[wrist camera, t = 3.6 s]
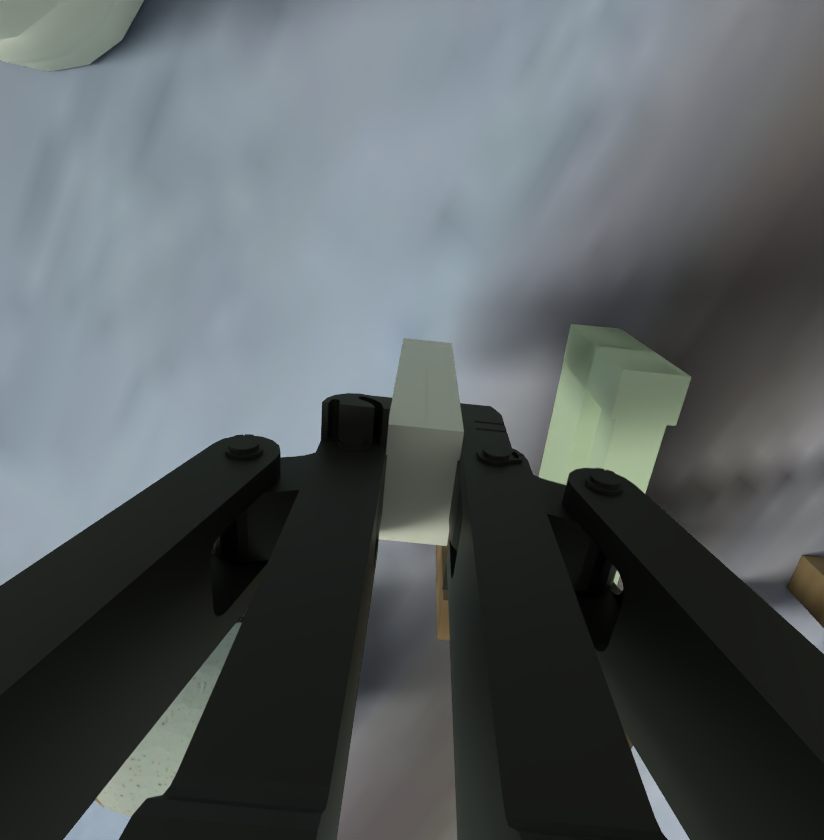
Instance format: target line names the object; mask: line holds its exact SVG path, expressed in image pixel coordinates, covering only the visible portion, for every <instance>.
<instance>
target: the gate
mask: <svg viewBox="0 0 824 840" xmlns="http://www.w3.org/2000/svg"><path fill="white" fill-rule="evenodd" d="M563 362H564V363H563V367H562V372H561V376H560V381H559V386H558V390H557V395H556V399H555V404H554V409H553V413H552V418H551V422H550V427H549V432H548V436H547V441H546V445H545V450H544V455H543V459H542V464H541V468H540V473H539V477H540V478H543V479H546V480H549V481H553V482H556V483H560V484H564V485H566V484H567V480H568V476H569V473H570V472H572V471H574V470H575V469H580V468H602V469H604V470H606V469H607V470H610V471H613V472H615V474H618V475H620V476H622V477H625V478H626V479H627V480H629V481H630V482H632V483H633V484H635V485H636V486H637V487H638V488H639V489H640V490H641V491H642V492H644V493H646V490H647V486H648V483H649V480H650V477H651V474H652V470H653V467H654V464H655V461H656V458H657V454H658V451H659V448H660V445H661V442H662V438H663V435H664V432H665V429H666V426H667V425H672V426H676V424H677V421H678V418H679V415H680V412H681V408H682V405H683V402H684V399H685V396H686V393H687V390H688V386H689V383H690V380H691V376H689V375H688V374H686V373H685V372H683V371H682V370H680V369H679V368H678V367H676V366H675V365H673V364H672V363H670V362H669V361H667V360H666V359H664V358H663V357H661V356H660V355H659V354H657V353H656V352H654V351H653V350H651V349H650V348H648V347H647V346H645V345H644V344H642V343H641V342H639V341H638V340H637V339H635V338H634V337H632V336H631V335H629V334H628V333H626V332H625V331H623V330H622V329H617V328H607V327H597V326H588V325H578V324H571V327H570V331H569V336H568V341H567V345H566V350H565V354H564V359H563ZM619 576H620V574H619V573H618V571H616V575H615V578H614V581H613V582H614V583H615V584H616V585H617V583H618V579H619ZM617 587H618V585H617ZM618 588H619V587H618Z"/></svg>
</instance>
